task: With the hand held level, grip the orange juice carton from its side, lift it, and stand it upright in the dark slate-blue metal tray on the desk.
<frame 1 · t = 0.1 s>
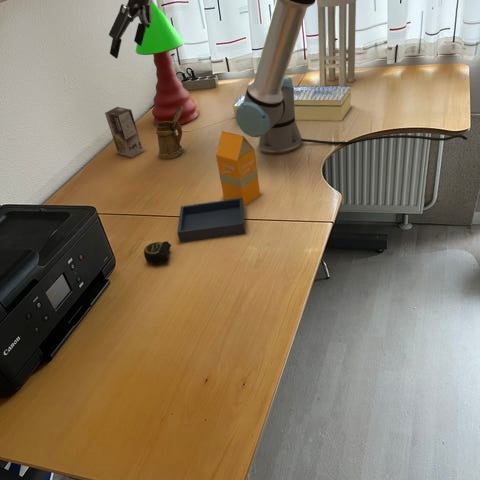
hand: (125, 49, 162), 36 cm above the table, tool tilted 35°, fingers open, 13 cm apart
tape measure: (161, 258, 131), on the table
coffee box: (130, 153, 189), on the table
pale yellow long box: (291, 113, 196), on the table
wooden mug: (176, 154, 182), on the table
stool: (337, 84, 213), on the table
table lamp: (176, 118, 210), on the table
orange juice: (242, 197, 150), on the table
tray: (212, 224, 141), on the table
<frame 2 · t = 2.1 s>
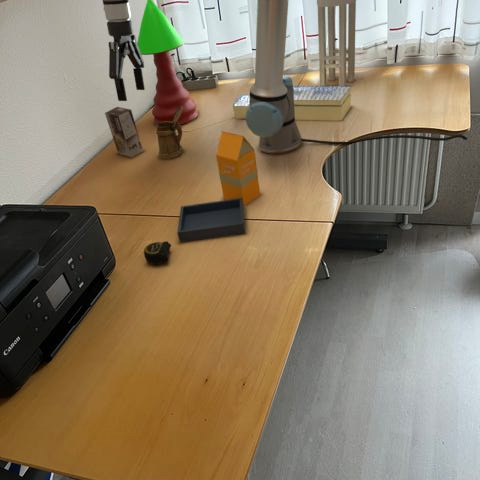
hand: (132, 95, 159), 25 cm above the table, tool pointing down, fingers open, 13 cm apart
nothing on the table moved.
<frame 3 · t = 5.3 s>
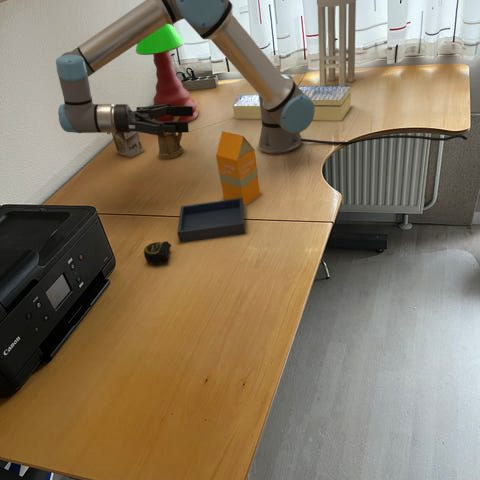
hand: (190, 118, 136), 25 cm above the table, tool horizontal, fingers open, 13 cm apart
nothing on the table moved.
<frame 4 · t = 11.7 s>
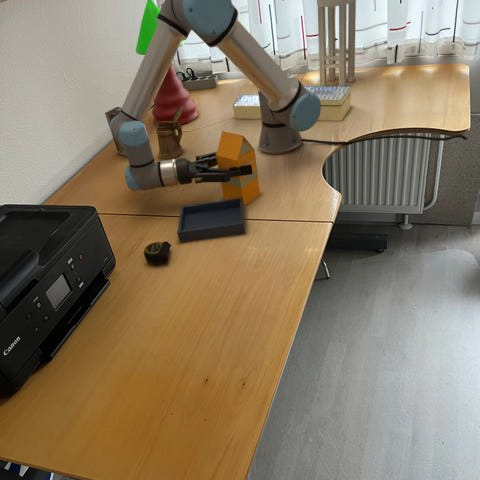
hand: (251, 161, 142), 11 cm above the table, tool horizontal, fingers closed on orange juice, 10 cm apart
orange juice: (242, 197, 150), on the table, touching gripper
everything else where it was.
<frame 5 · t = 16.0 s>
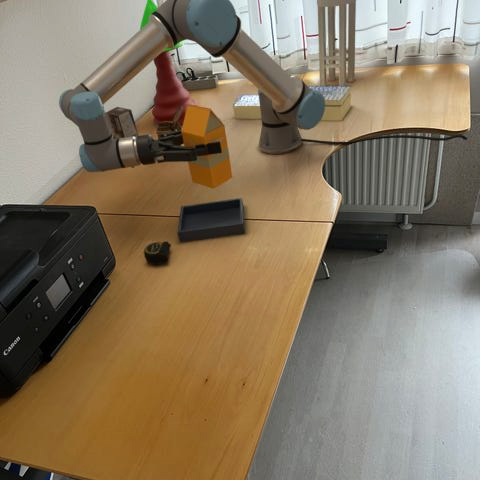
hand: (221, 139, 127), 23 cm above the table, tool horizontal, fingers closed on orange juice, 10 cm apart
orange juice: (212, 180, 135), point 12 cm above the table, touching gripper
everything else where it was.
when the fingers open (12 cm above the table, at t = 20.1 s): orange juice stays where it is, resting on tray.
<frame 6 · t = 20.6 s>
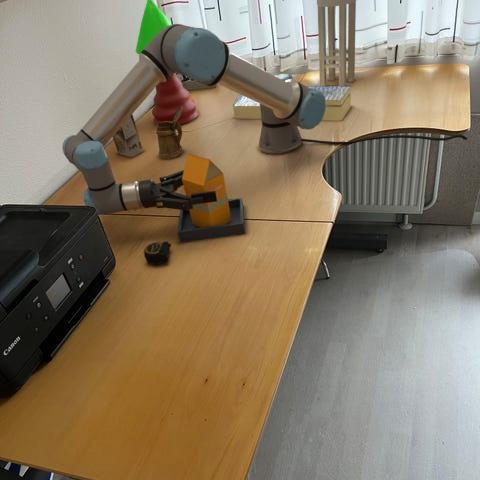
hand: (216, 184, 132), 12 cm above the table, tool horizontal, fingers open, 13 cm apart
orange juice: (212, 222, 140), point 1 cm above the table, touching tray
everything else where it was.
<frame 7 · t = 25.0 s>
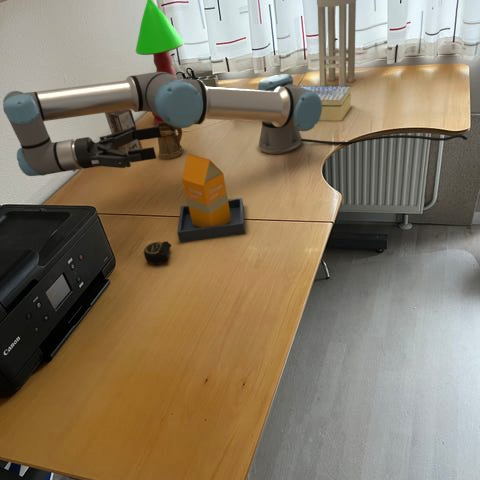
hand: (157, 141, 125), 26 cm above the table, tool horizontal, fingers open, 13 cm apart
nothing on the table moved.
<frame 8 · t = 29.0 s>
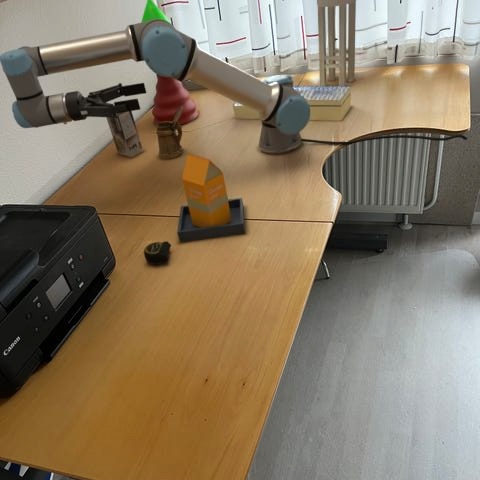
hand: (142, 95, 135), 32 cm above the table, tool horizontal, fingers open, 13 cm apart
nothing on the table moved.
at the end: orange juice inside the target area in the tray (0.1 cm from its centre), point 0.6 cm above the tray's base; orange juice tilted 0°; the gripper is holding nothing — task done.
